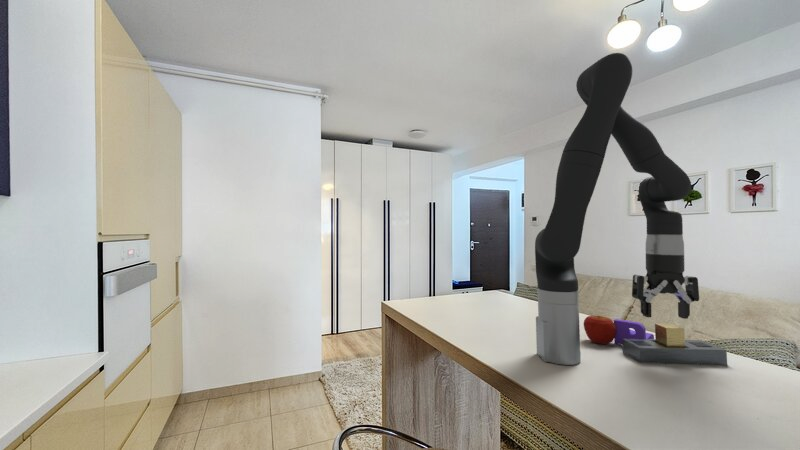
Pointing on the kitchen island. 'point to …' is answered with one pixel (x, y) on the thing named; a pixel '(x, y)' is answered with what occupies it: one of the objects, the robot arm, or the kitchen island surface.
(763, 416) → the kitchen island surface
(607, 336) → the apple
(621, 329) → the bracket
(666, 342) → the tan block
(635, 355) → the grey base plate
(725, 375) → the kitchen island surface
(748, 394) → the kitchen island surface
